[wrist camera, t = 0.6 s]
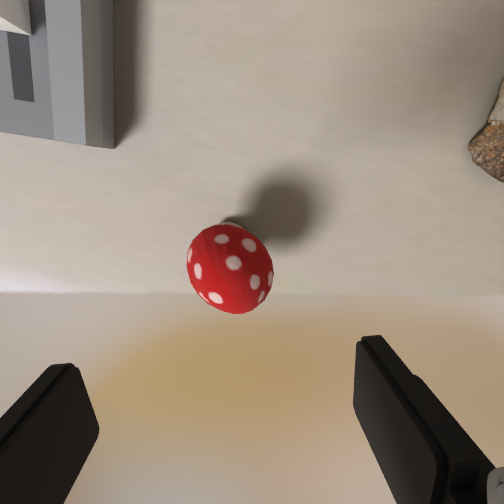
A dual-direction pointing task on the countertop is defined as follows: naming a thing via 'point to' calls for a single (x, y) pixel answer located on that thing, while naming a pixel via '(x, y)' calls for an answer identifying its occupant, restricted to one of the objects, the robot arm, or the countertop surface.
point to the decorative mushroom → (230, 268)
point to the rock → (491, 142)
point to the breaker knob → (15, 16)
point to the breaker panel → (43, 108)
